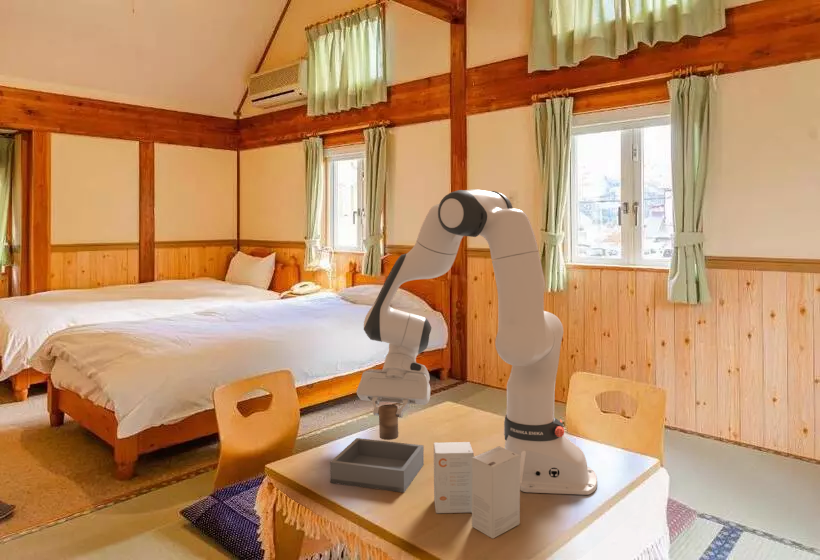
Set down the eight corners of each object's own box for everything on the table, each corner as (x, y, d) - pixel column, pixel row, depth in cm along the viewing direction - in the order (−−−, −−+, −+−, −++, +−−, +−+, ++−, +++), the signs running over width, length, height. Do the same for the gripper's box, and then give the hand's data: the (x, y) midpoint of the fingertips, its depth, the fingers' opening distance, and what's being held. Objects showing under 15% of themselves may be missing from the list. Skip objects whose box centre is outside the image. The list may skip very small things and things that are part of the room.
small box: (470, 499, 126) (470, 441, 125) (474, 513, 120) (474, 452, 119) (433, 499, 126) (433, 441, 125) (435, 513, 120) (434, 453, 119)
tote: (423, 464, 145) (423, 445, 144) (404, 492, 129) (403, 471, 129) (356, 456, 150) (356, 438, 149) (330, 482, 135) (330, 461, 134)
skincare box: (498, 514, 119) (499, 444, 118) (521, 526, 115) (522, 453, 113) (470, 528, 114) (470, 455, 113) (492, 540, 109) (493, 464, 108)
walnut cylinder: (400, 434, 156) (400, 405, 155) (394, 440, 151) (394, 410, 151) (383, 432, 157) (382, 403, 157) (376, 438, 153) (376, 409, 152)
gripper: (360, 362, 163) (347, 407, 154) (430, 366, 156) (421, 412, 148) (367, 374, 167) (354, 418, 159) (435, 378, 161) (426, 424, 153)
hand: (387, 415), depth 153 cm, fingers closed on walnut cylinder, 5 cm apart
